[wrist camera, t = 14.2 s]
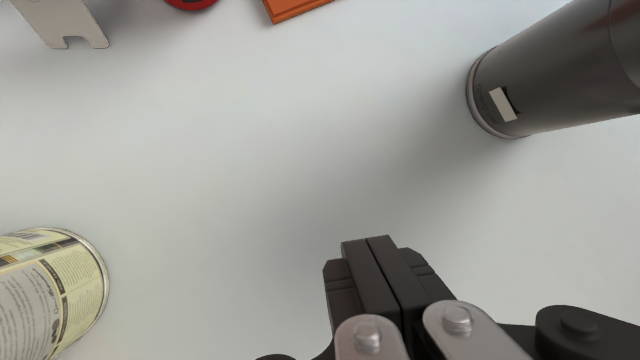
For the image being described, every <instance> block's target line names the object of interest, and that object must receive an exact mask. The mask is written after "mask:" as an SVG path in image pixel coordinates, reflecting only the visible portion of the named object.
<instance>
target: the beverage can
mask: <svg viewBox="0 0 640 360" xmlns="http://www.w3.org/2000/svg"><path fill="white" fill-rule="evenodd" d="M165 1H166V2H168V3H169V4H171V5H173V6H175V7H178V8H181V9H185V10H199V9H203V8H206V7H209V6H211V5H212V4H214V3H215V2H217V1H218V0H165Z"/></svg>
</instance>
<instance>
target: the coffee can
mask: <svg viewBox="0 0 640 360" xmlns="http://www.w3.org/2000/svg"><path fill="white" fill-rule="evenodd" d="M108 292H109V280H108V274H107V270H106V267H105V265H104V262H103V260H102V258H101V257H100V255H99V254H98V253H97V251H96V250H95V249H94V248H93V247H92V246H91V244H89V243H88V242H87V241H86V240H84V239H83V238H81V237H80V236H78V235H76V234H74V233H71V232H69V231H67V230H62V229H57V228H47V227H41V228H31V229H26V230H22V231H19V232H15V233H10V234H5V235H0V360H52V359H53V358H54V357H55V356H57V355H58V354H59V353H60V352H62V351H63V350H64V349H65V348H66V347H68V346H69V345H70V344H71V343H73V342H74V341H76V340H77V339H79V338H80V337H82V336H83V335H84V334H85V333H87V332H88V331H89V330H90V329H91V328H92V327H93V326H94V324H95V323H96V322H97V320H98V319H99V317H100V316H101V314H102V312H103V310H104V308H105V306H106V302H107V297H108Z"/></svg>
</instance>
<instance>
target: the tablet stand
mask: <svg viewBox="0 0 640 360" xmlns="http://www.w3.org/2000/svg"><path fill="white" fill-rule="evenodd" d="M10 1H11V2H12V3H13V5H14V6H15V7H16V8H17V9H18V11H19V12H20V13H21V14H22V16H23V17H24V18H25V19H26V20H27V22H28V23H29V24H30V25H31V26H32V28H33V29H34V30H35V31H36V32H37V34H38V35H39V36H40V37H41V38H42V40H43V41H44V42H45V43H46V45H47V46H49V47H51V48H55V49H60V48H68V46H67V44H66V42H65V41H64V38H63V36H82V37H84V38H85V39H86V40H87V41H88V42H89V43H90V45H91V46H92V47H93V48H106V47H108V46H109V42H108V41H107V39H106V37H105V35H104V34H103V32H102V30H101V29H100V27H99V26H98V24H97V22H96V21H95V19H94V17H93V16H92V14H91V12H90V11H89V9H88V7H87V6H86V4H85V2H84V1H83V0H10Z"/></svg>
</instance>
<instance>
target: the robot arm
mask: <svg viewBox="0 0 640 360" xmlns="http://www.w3.org/2000/svg"><path fill="white" fill-rule="evenodd" d="M467 100H468V104H469V107H470V110H471V112H472V114H473V116H474V118H475V119H476V121H477V122H478V123H479V124H480V125H481V126H482V127H483V128H484V129H485V130H486V131H488V132H489V133H491V134H493V135H495V136H498V137H501V138H506V139H517V138H522V137H527V136H530V135H532V134H537V133H542V132H548V131H553V130H559V129H564V128H569V127H574V126H579V125H584V124H589V123H595V122H600V121H605V120H610V119H615V118H620V117H625V116H631V115H636V114H640V0H573V1H571V2H569V3H568V4H566V5H565V6H563V7H561V8H560V9H558V10H556V11H555V12H553V13H551V14H550V15H548V16H547V17H545V18H543V19H542V20H540V21H538V22H537V23H535V24H533V25H532V26H530V27H529V28H527V29H525V30H524V31H522V32H520V33H519V34H517V35H515V36H514V37H512V38H510V39H509V40H507V41H505V42H504V43H502V44H501V45H498V46H496V47H494V48H492V49H491V50H489V51H487V52H486V53H484V54H483V55H482V56H481V57H480V58H479V59H478V60H477V61H476V62H475V64H474V65H473V67H472V69H471V71H470V74H469V77H468V81H467ZM341 252H342V258H340V259H333V260H327V262H326V264H325V266H324V268H323V270H322V271H323V278H324V285H325V292H326V299H327V307H328V313H329V319H330V324H331V330H332V335H333V339H332V341H331V343H330V345H329V346H328V347H327V349H326V350H325V351H323V352H322V353H321V354H320V355H318V356H317V357H315V358H313V359H312V360H640V326H637V325H634V324H631V323H628V322H624V321H621V320H618V319H615V318H612V317H608V316H605V315H602V314H599V313H596V312H593V311H589V310H586V309H583V308H579V307H574V306H567V305H553V306H548V307H545V308H543V309H541V310H540V311H539V312H538V313H537V315H536V321H535V326H527V325H511V324H500V323H496V322H495V321H494V320H493V319H492V318H491V317H490V316H489V315H488V314H487V313H485V312H484V311H483V310H482V309H480V308H479V307H477V306H475V305H473V304H470V303H467V302H463V301H458V300H457V299H456V297H455V296H454V295H453V294H452V292H451V291H450V290H449V289H448V287H447V286H446V285H445V284H444V282H443V281H442V280H441V279H440V278H439V276H438V275H437V274H435V271H434V270H433V269H432V268H431V266H429V265H428V263H427V261H426V260H425V259H424V258H423V256H422V255H421V254H419V253H417V252H416V251H414V250H412V249H410V248H408V247H407V248H400V249H398V248H397V247H396V245H395V244H394V242H393V241H392V239H391V238H390V236H389V235H383V236H377V237H370V238H365V240H364V239H358V240H352V241H346V242H341ZM256 360H296V359H294V358H292V357H290V356H287V355H283V354H271V355H266V356H263V357H260V358H258V359H256Z"/></svg>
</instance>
